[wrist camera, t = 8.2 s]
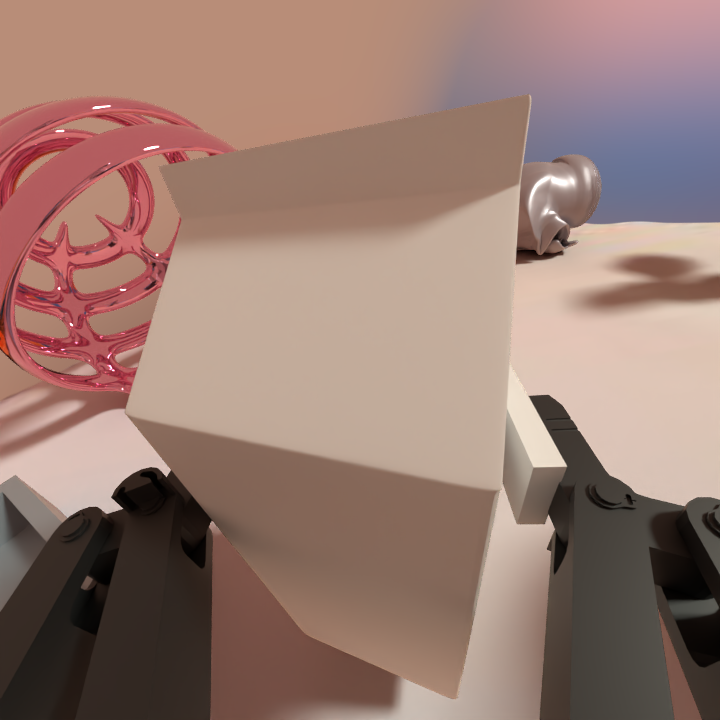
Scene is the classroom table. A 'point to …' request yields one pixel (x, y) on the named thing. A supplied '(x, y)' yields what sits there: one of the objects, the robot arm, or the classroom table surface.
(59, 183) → the spiral basket
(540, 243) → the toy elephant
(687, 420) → the classroom table surface
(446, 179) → the milk carton
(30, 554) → the tray
